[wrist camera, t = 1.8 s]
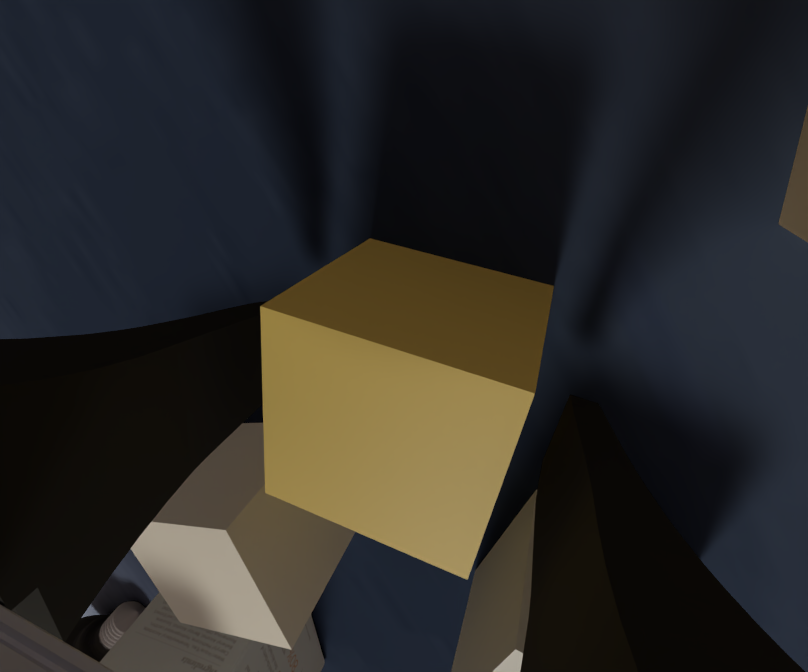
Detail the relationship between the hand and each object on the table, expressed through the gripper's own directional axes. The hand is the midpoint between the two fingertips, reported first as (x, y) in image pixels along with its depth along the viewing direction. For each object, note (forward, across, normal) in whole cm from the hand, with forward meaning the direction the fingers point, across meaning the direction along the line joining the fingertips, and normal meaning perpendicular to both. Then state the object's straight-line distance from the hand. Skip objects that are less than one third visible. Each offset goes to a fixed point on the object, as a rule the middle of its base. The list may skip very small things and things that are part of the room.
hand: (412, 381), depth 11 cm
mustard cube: (+2, 0, 0) cm, 2 cm away
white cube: (+2, +5, +8) cm, 10 cm away
